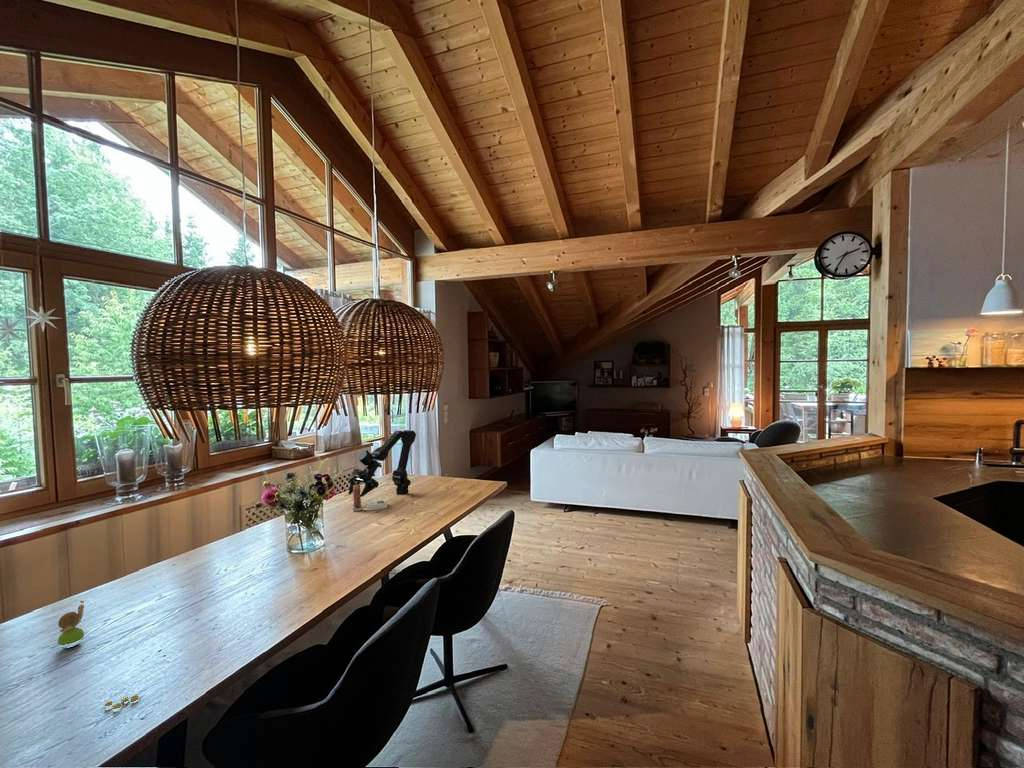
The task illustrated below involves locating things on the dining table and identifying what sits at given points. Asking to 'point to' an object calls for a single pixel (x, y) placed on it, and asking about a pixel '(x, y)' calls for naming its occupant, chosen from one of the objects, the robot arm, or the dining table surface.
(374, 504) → the block
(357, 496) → the joystick
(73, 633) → the snail figurine
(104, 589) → the dining table surface
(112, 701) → the dice set
